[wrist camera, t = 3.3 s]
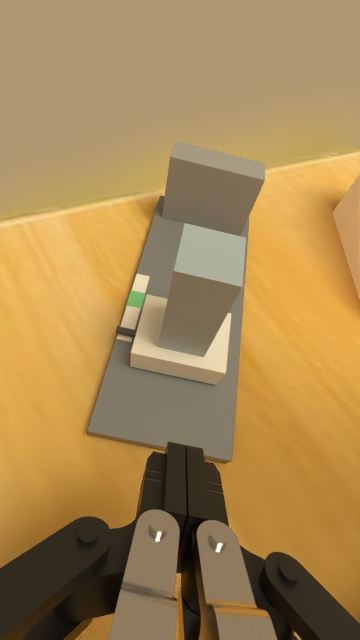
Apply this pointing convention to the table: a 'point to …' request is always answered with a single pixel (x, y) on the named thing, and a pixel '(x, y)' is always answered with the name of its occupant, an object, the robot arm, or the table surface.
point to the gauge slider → (192, 309)
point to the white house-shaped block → (350, 229)
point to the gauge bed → (155, 279)
